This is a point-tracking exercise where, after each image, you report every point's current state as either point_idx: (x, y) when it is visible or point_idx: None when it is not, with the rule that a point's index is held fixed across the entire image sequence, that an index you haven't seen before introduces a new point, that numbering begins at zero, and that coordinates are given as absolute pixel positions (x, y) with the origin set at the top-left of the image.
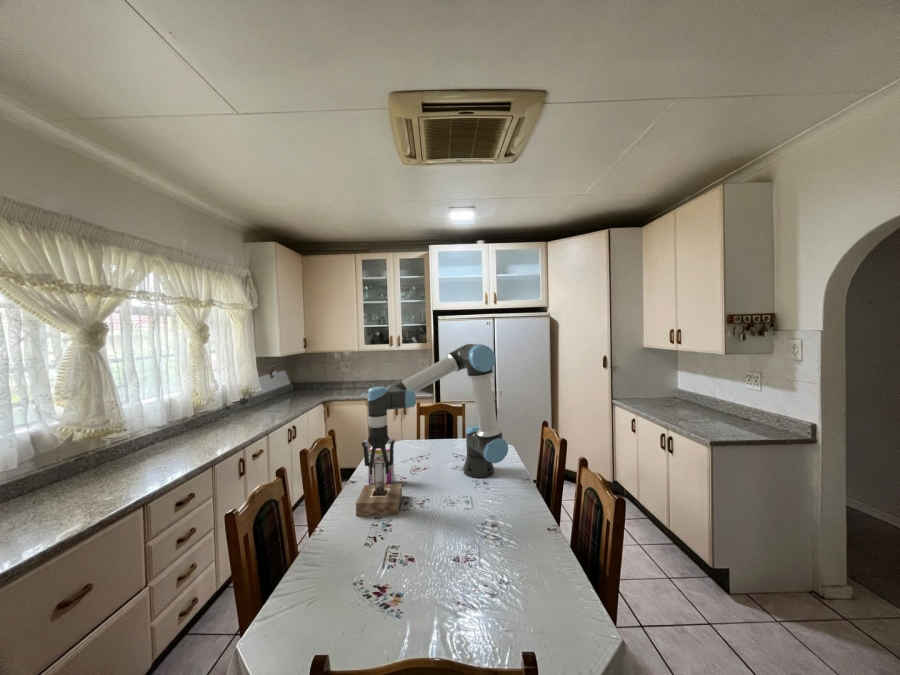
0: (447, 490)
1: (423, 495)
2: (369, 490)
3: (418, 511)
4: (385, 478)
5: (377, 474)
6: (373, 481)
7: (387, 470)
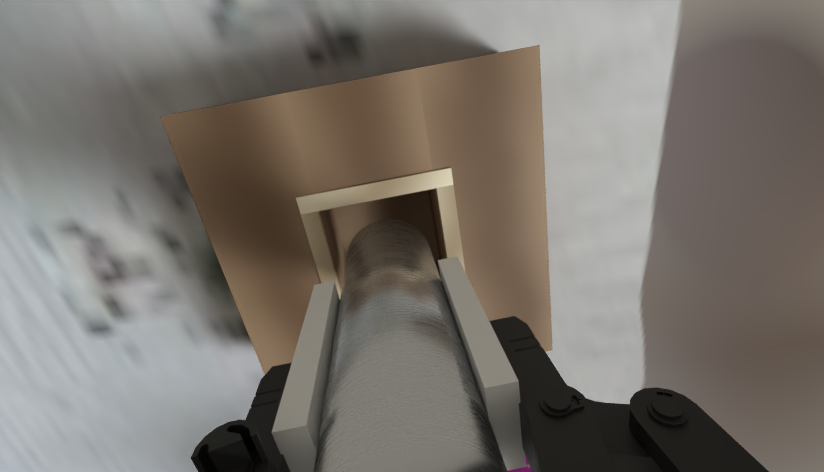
0: (28, 440)
1: (153, 367)
2: (489, 281)
3: (73, 168)
4: (308, 312)
5: (403, 313)
6: (450, 269)
7: (268, 405)
